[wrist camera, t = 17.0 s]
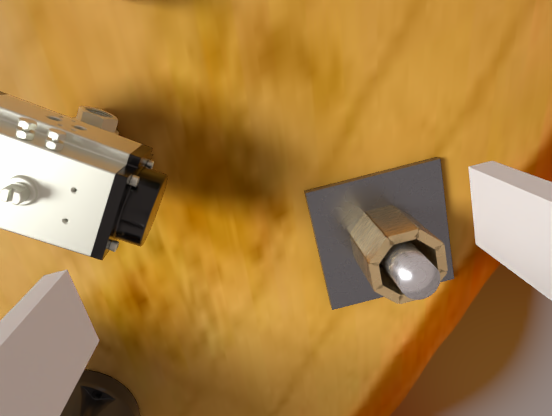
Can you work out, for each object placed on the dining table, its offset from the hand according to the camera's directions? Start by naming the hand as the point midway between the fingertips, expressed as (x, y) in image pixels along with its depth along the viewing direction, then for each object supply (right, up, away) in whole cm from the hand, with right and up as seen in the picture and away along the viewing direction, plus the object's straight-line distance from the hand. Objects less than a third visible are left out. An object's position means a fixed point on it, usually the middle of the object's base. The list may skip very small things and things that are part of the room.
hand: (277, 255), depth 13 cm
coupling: (+13, -2, +37) cm, 40 cm away
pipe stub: (+13, -2, +38) cm, 40 cm away
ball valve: (-20, +8, +32) cm, 39 cm away
